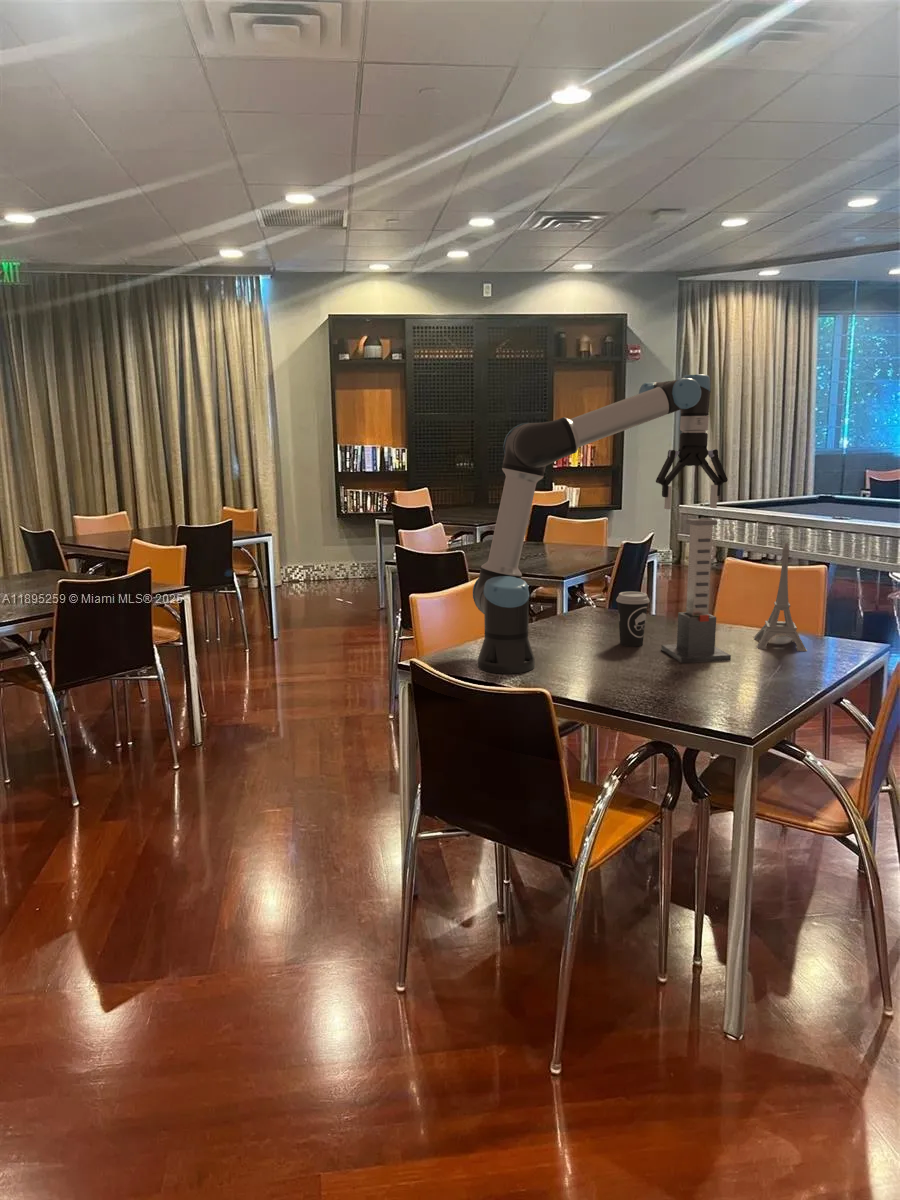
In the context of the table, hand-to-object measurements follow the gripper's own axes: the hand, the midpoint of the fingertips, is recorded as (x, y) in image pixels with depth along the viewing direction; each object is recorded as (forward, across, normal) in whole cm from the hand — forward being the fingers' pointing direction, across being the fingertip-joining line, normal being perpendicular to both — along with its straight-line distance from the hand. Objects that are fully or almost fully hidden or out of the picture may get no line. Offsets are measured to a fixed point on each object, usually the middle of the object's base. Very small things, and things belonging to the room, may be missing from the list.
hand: (690, 508), depth 232 cm
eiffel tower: (+40, +27, -5) cm, 49 cm away
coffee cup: (+40, -15, +3) cm, 43 cm away
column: (+29, -2, -12) cm, 32 cm away
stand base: (+40, -2, -12) cm, 42 cm away
